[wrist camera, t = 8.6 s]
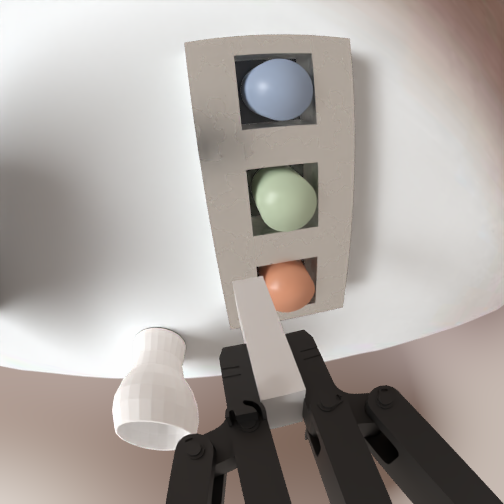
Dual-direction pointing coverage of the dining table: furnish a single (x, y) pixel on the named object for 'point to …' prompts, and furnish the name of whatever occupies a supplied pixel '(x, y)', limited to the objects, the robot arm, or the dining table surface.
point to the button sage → (283, 198)
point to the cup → (155, 394)
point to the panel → (277, 161)
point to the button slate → (277, 89)
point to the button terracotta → (288, 285)
